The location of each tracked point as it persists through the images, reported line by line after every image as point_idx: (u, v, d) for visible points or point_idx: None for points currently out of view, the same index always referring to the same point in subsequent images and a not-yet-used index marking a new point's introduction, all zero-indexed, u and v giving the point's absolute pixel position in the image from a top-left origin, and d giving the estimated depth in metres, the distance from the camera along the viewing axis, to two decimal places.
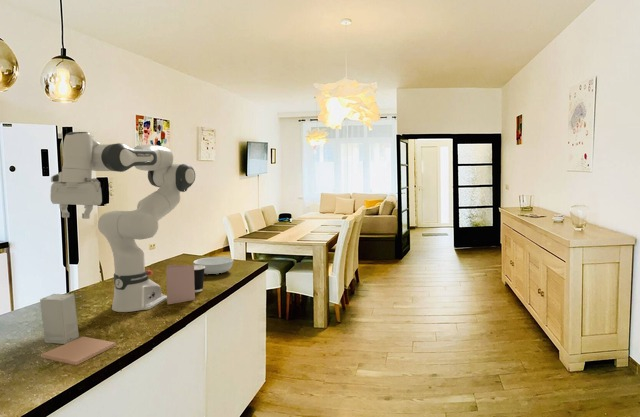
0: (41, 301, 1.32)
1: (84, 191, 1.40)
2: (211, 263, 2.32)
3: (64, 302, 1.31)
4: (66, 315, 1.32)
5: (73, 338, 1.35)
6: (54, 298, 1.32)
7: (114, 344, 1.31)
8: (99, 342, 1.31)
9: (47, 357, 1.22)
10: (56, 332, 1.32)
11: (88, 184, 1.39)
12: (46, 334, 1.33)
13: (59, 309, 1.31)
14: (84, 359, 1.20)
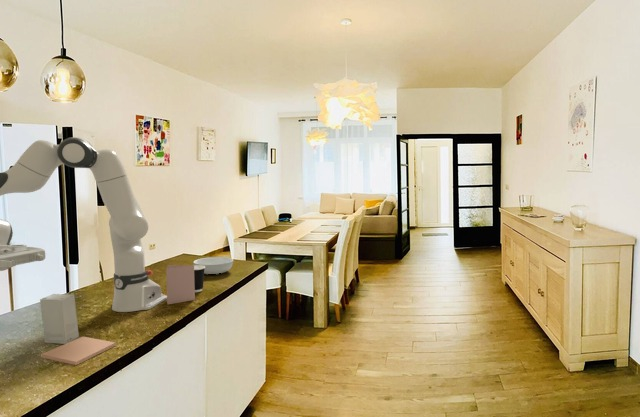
0: (41, 301, 1.32)
1: None
2: (211, 263, 2.32)
3: (64, 302, 1.31)
4: (66, 315, 1.32)
5: (73, 338, 1.35)
6: (54, 298, 1.32)
7: (114, 344, 1.31)
8: (99, 342, 1.31)
9: (47, 357, 1.22)
10: (56, 332, 1.32)
11: None
12: (46, 334, 1.33)
13: (59, 309, 1.31)
14: (84, 359, 1.20)
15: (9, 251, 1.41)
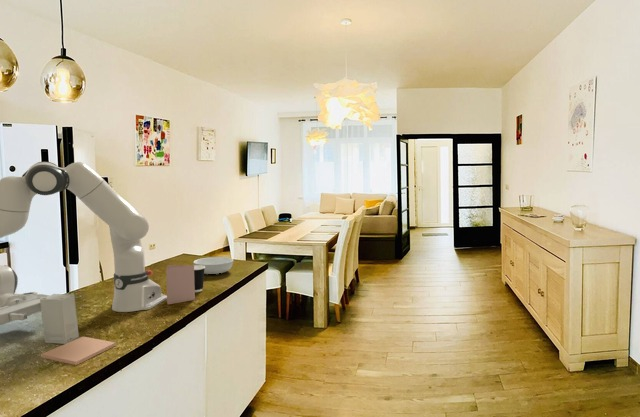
0: (41, 301, 1.32)
1: None
2: (211, 263, 2.32)
3: (64, 302, 1.31)
4: (66, 315, 1.32)
5: (73, 338, 1.35)
6: (54, 298, 1.32)
7: (114, 344, 1.31)
8: (99, 342, 1.31)
9: (47, 357, 1.22)
10: (56, 332, 1.32)
11: None
12: (46, 334, 1.33)
13: (59, 309, 1.31)
14: (84, 359, 1.20)
15: (20, 301, 1.42)
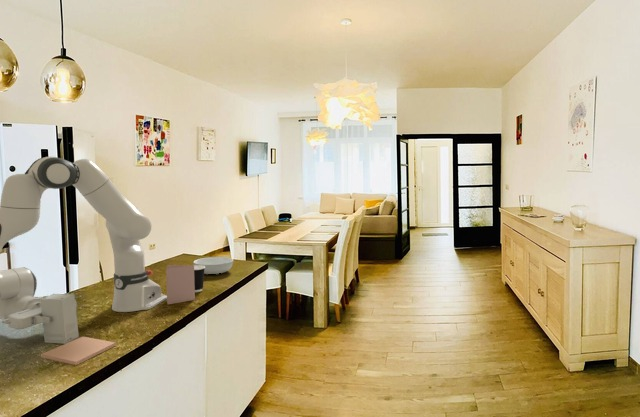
0: (41, 301, 1.32)
1: None
2: (211, 263, 2.32)
3: (64, 302, 1.31)
4: (66, 314, 1.32)
5: (73, 338, 1.35)
6: (54, 298, 1.32)
7: (114, 344, 1.31)
8: (99, 342, 1.31)
9: (47, 357, 1.22)
10: (56, 332, 1.32)
11: None
12: (46, 333, 1.33)
13: (59, 309, 1.31)
14: (84, 359, 1.20)
15: None
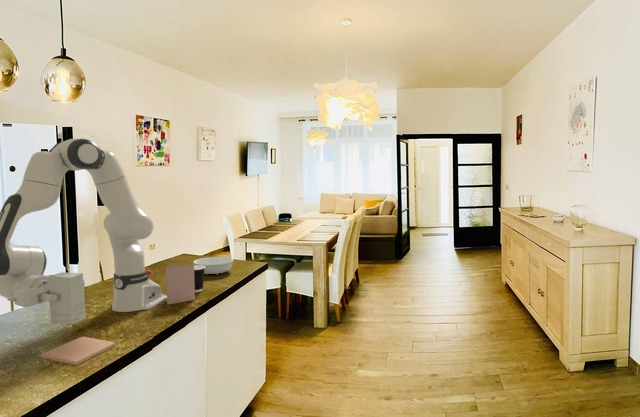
0: (49, 278, 1.27)
1: None
2: (211, 263, 2.32)
3: (72, 280, 1.26)
4: (73, 293, 1.27)
5: (80, 319, 1.29)
6: (62, 276, 1.27)
7: (114, 344, 1.31)
8: (99, 342, 1.31)
9: (47, 357, 1.22)
10: (62, 312, 1.27)
11: None
12: (52, 313, 1.28)
13: (67, 287, 1.26)
14: (84, 359, 1.20)
15: None
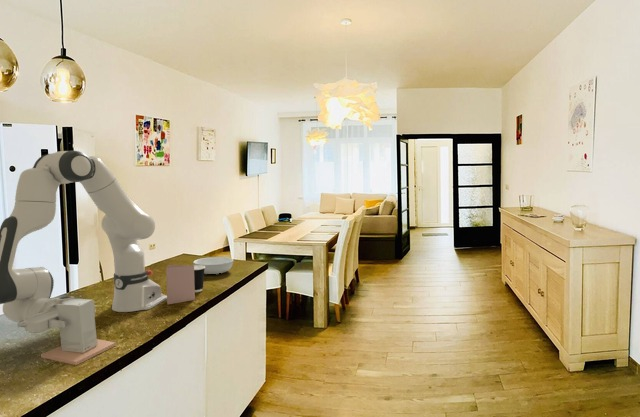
0: (58, 306, 1.23)
1: None
2: (211, 263, 2.32)
3: (82, 308, 1.23)
4: (83, 321, 1.23)
5: (91, 346, 1.26)
6: (71, 303, 1.23)
7: (114, 344, 1.31)
8: (99, 342, 1.31)
9: (47, 357, 1.22)
10: (73, 340, 1.23)
11: None
12: (63, 341, 1.24)
13: (77, 316, 1.22)
14: (84, 359, 1.20)
15: None
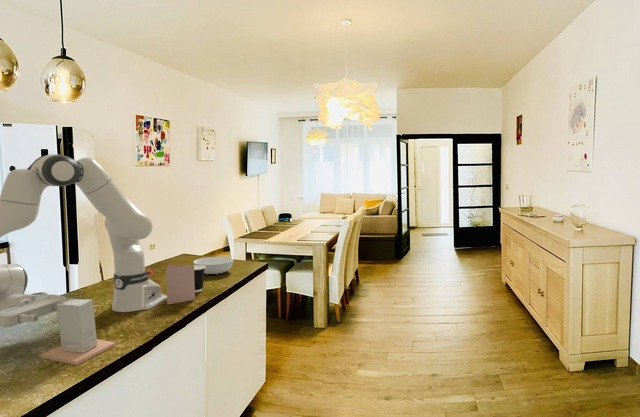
0: (58, 306, 1.23)
1: None
2: (211, 263, 2.32)
3: (82, 308, 1.23)
4: (83, 321, 1.23)
5: (91, 346, 1.26)
6: (71, 303, 1.23)
7: (114, 344, 1.31)
8: (99, 342, 1.31)
9: (47, 357, 1.22)
10: (73, 340, 1.23)
11: None
12: (63, 341, 1.24)
13: (77, 316, 1.22)
14: (84, 359, 1.20)
15: (30, 301, 1.34)
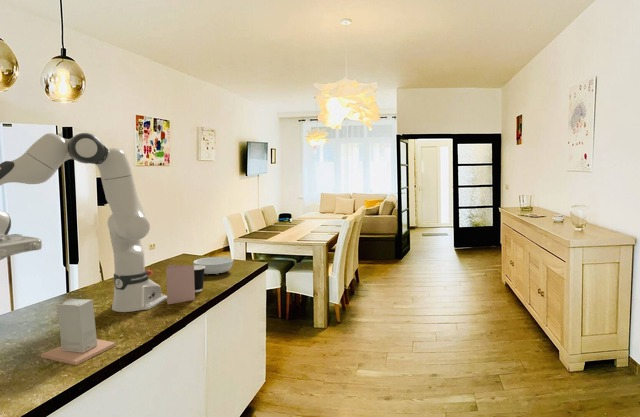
0: (58, 306, 1.23)
1: None
2: (211, 263, 2.32)
3: (82, 308, 1.23)
4: (83, 321, 1.23)
5: (91, 346, 1.26)
6: (71, 303, 1.23)
7: (114, 344, 1.31)
8: (99, 342, 1.31)
9: (47, 357, 1.22)
10: (73, 340, 1.23)
11: None
12: (63, 341, 1.24)
13: (77, 316, 1.22)
14: (84, 359, 1.20)
15: (4, 240, 1.36)
